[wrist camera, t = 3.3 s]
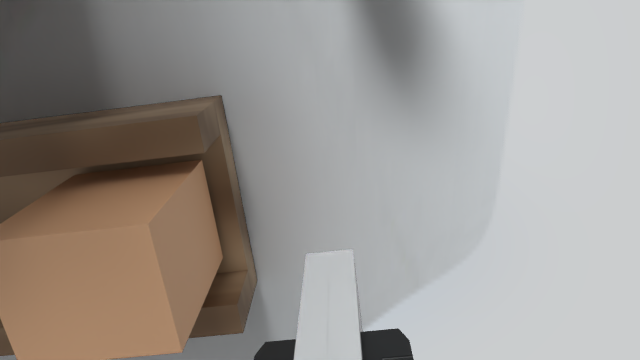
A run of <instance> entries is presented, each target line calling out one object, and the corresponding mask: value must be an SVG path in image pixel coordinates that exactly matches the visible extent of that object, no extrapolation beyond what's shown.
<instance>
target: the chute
mask: <svg viewBox="0 0 640 360" xmlns="http://www.w3.org/2000/svg"><path fill="white" fill-rule="evenodd" d="M195 160H202V162H203V167H204V171H205V176H206V181H207V185H208V190H209V194H210V199H211V204H212V208H213V213H214V218H215V222H216V227H217V232H218V236H219V241H220V245H221V250H222V255H223V259H222V261H221V263H220V266H219V268H218V270H217V273H216V275H215V277H214V280H213V282H212V284H211V287H210V289H209V291H208V294H207V296H206V298H205V300H204V303H203V305H202V307H201V310H200V312H199V314H198V317H197V319H196V321H195V324H194V326H193V328H192V331H191V333H190V335H189V338H195V337H205V336H216V335H226V334H237V333H243V331H244V328H245V324H246V320H247V316H248V313H249V309H250V305H251V302H252V298H253V294H254V291H255V287H256V283H257V277H256V272H255V267H254V261H253V256H252V251H251V246H250V241H249V236H248V231H247V225H246V220H245V215H244V210H243V205H242V200H241V194H240V189H239V184H238V179H237V174H236V169H235V164H234V158H233V153H232V148H231V143H230V138H229V133H228V127H227V122H226V117H225V112H224V107H223V102H222V96H221V95H220V96H212V97H204V98H197V99H189V100H181V101H173V102H165V103H157V104H149V105H141V106H133V107H125V108H117V109H109V110H101V111H93V112H85V113H77V114H70V115H62V116H54V117H46V118H38V119H30V120H22V121H14V122H6V123H0V224H1V223H2V222H4V221H5V220H7V219H8V218H10V217H11V216H13V215H15V214H16V213H18V212H19V211H21V210H22V209H24V208H25V207H27V206H28V205H30V204H31V203H33V202H34V201H36V200H37V199H39V198H40V197H42V196H43V195H45V194H46V193H48V192H49V191H51V190H52V189H54V188H55V187H57V186H58V185H60V184H61V183H63V182H64V181H66V180H67V179H69V178H71V177H72V176H74V175H76V174H85V173H93V172H102V171H110V170H119V169H127V168H135V167H144V166H152V165H161V164H169V163H178V162H186V161H195ZM5 355H15V354H14V351H13V349H12V346H11V344H10V341H9V339H8V336H7V334H6V331H5V329H4V326H3V324H2V321H1V319H0V356H5Z"/></svg>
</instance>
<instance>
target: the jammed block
mask: <svg viewBox="0 0 640 360" xmlns="http://www.w3.org/2000/svg"><path fill="white" fill-rule="evenodd" d="M222 259H223V255H222V250H221V245H220V241H219V236H218V232H217V227H216V222H215V218H214V213H213V208H212V204H211V199H210V194H209V190H208V185H207V181H206V176H205V171H204V167H203V162H202V160H195V161H186V162H178V163H169V164H161V165H152V166H144V167H135V168H127V169H119V170H110V171H102V172H93V173H85V174H76V175H74V176H72V177H71V178H69V179H67V180H66V181H64V182H63V183H61V184H60V185H58V186H57V187H55V188H54V189H52V190H51V191H49V192H48V193H46V194H45V195H43V196H42V197H40V198H39V199H37V200H36V201H34V202H33V203H31V204H30V205H28V206H27V207H25V208H24V209H22V210H21V211H19V212H18V213H16V214H15V215H13V216H11V217H10V218H8V219H7V220H5V221H4V222H2V223H1V224H0V319H1V321H2V324H3V326H4V329H5V331H6V334H7V336H8V339H9V341H10V344H11V346H12V349H13V351H14V354H15V356H16V359H17V360H107V359H118V358H129V357H139V356H150V355H161V354H172V353H182V352H183V349H184V347H185V345H186V342H187V340H188V338H189V335H190V333H191V331H192V328H193V326H194V324H195V321H196V319H197V317H198V314H199V312H200V310H201V307H202V305H203V303H204V300H205V298H206V296H207V294H208V291H209V289H210V287H211V284H212V282H213V280H214V277H215V275H216V273H217V270H218V268H219V266H220V263H221V261H222Z"/></svg>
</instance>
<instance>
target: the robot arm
mask: <svg viewBox="0 0 640 360" xmlns="http://www.w3.org/2000/svg"><path fill="white" fill-rule="evenodd" d="M254 360H414V359H413V355H412V351H411V346H410V342H409V340H408V339H407V338H406V336H405V335H404V334H403V333H402V332H401V331H400V330H399V329H388V330H378V331H366V332H362V322H361V313H360V305H359V296H358V288H357V280H356V271H355V263H354V254H353V249H347V250H337V251H327V252H318V253H308V254H306V258H305V266H304V275H303V284H302V292H301V301H300V310H299V318H298V327H297V336H296V339H294V340H283V341H272V342H265V343H264V345H263V346H262V347H261V348H260V350H259V351H258V352H257V353H256V355H255V357H254Z"/></svg>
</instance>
